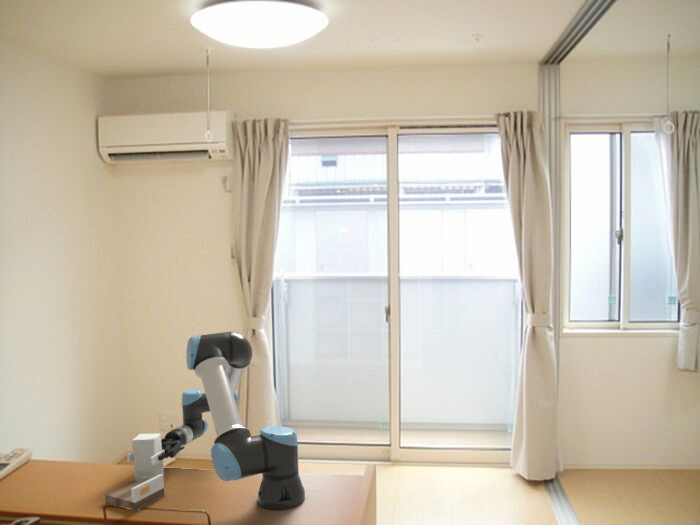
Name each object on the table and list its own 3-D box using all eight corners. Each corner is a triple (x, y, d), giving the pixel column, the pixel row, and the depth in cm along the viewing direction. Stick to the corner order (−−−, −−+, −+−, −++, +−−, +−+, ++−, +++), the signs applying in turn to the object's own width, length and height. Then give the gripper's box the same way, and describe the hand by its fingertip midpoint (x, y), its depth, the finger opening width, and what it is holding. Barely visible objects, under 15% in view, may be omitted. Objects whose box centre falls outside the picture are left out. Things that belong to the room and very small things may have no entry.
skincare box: (164, 474, 212) (162, 432, 211) (156, 482, 206) (154, 439, 205) (142, 474, 213) (140, 432, 212) (133, 482, 207) (131, 439, 206)
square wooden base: (165, 496, 194) (163, 474, 194) (136, 512, 184) (134, 489, 184) (135, 488, 201) (134, 467, 201) (105, 503, 191) (104, 481, 191)
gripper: (203, 450, 223) (166, 473, 201) (155, 444, 230) (115, 467, 208) (202, 430, 222) (165, 452, 201) (154, 426, 229) (113, 446, 208)
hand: (139, 460), depth 205 cm, fingers closed on skincare box, 9 cm apart
